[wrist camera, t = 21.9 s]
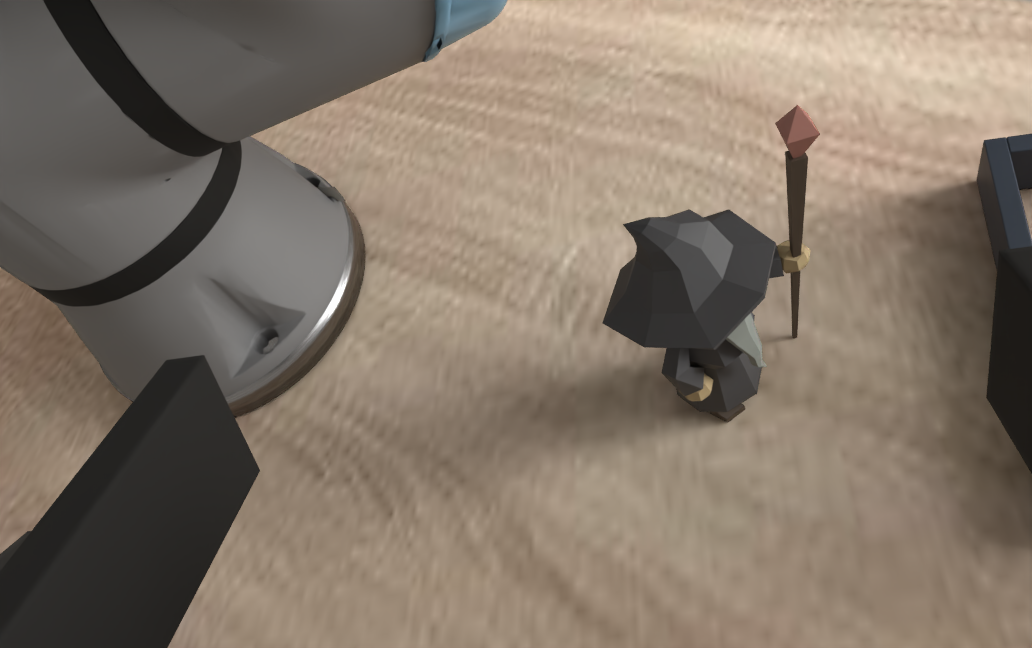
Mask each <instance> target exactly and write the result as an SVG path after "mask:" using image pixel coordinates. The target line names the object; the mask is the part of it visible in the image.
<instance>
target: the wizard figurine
mask: <svg viewBox="0 0 1032 648" xmlns="http://www.w3.org/2000/svg"><path fill="white" fill-rule="evenodd" d="M775 124H776V126H777V128H778V130H779V132H780V134H781V136H782V138H783V140H784V142H785V144H786V146H787V148H788V150H789V151H786V152H785V156H786V177H787V198H788V219H789V239H790V240H787V241H785V242H783V243H781V244H779V245H778V246H776V243H775V242H774V241H772V240H771V239H770V238H768V237H767V236H765V235H764V234H762V233H761V232H760V231H758V230H757V229H755V228H754V227H753V226H751V225H750V224H748V223H747V222H746V221H744V220H743V219H741V218H740V217H739V216H737V215H736V214H734V213H733V212H732V211H730V210H726V211H723V212H720V213H716V214H713V215H710V216H707V217H704V218H703V217H701V216H700V215H698V214H696V213H694V212H693V211H691V210H686V211H683V212H680V213H677V214H674V215H671V216H668V217H652V218H645V219H641V220H638V221H634V222H630V223H627V224H623V225H624V226H625V228H626V229H627V230H628V231H629V233H630V234H631V235H632V236H633V238H634V240H635V242H636V245H637V252H636V255H635V257H634V258H633V259H632V260H631V261H630V262H629V263H627V264H626V265H625V266H624V267H623V268H622V269H621V270H620V273H619V276H618V278H617V281H616V284H615V287H614V290H613V293H612V296H611V299H610V302H609V305H608V308H607V311H606V314H605V317H604V320H603V324H605V325H607V326H608V327H610V328H612V329H613V330H615V331H617V332H619V333H620V334H622V335H624V336H626V337H627V338H629V339H631V340H632V341H634V342H636V343H638V344H639V345H641V346H643V347H655V348H667V349H666V354H665V359H664V364H663V369H662V374H663V375H664V376H665V377H666V378H667V379H668V380H669V381H670V382H671V383H672V384H673V385H674V386H675V387H676V389H677V394H678V396H680V397H681V398H682V399H684V400H685V401H686V402H688V403H689V404H690V405H692V406H693V407H695V408H696V409H697V410H699V411H700V412H710V413H711V414H713V415H715V416H717V417H718V418H720V419H722V420H724V421H726V422H729V421H730V420H732V419H733V418H734V417H736V416H737V415H738V414H739V413H741V412H742V411H743V410H745V406H744V405H743V404H741V403H742V402H744V401H745V400H747V399H749V398H750V397H752V396H753V395H755V394H757V390H758V385H759V380H760V374H761V369H762V367H767V365H766V364H765V363H764V361H763V360H762V344H761V341H760V338H759V335H758V333H757V330H756V327H755V324H754V316H755V315H754V314H753V313H752V311H753V310H754V309H755V308H756V307H757V306H758V305H759V304H760V303H761V301H762V300H763V299H764V298H765V294H766V289H767V285H768V280H769V278H774V277H780V276H784V275H783V271H784V272H785V273H791V305H792V336H793V338H796V337H797V330H798V308H799V286H800V270H801V269H803V268H804V267H806V265H807V263H808V262H809V257H810V249H809V248H807V247H806V246H805V245H804V244H803V243H802V234H803V220H804V206H805V192H806V178H807V164H808V157H807V155H806V153H805V151H806V150H807V149H808V148H809V147H810V145H811V144H812V143H813V142H814V141H815V139H816V138H817V137H818V136H819V135H820V133H819V132H818V130H817V128H816V127H815V125H814V123H813V122H812V120H811V118H810V117H809V115H808V113H806V112H805V111H804V110H803V109H802V108H801V107H799V106H798V105H797V106H796V107H794V108H793V109H792V110H791V111H790V112H788V113H787V114H786V115H785V116H784V117H782V118H781V119H780V120H779V121H778V122H776V123H775Z"/></svg>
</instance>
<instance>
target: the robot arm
mask: <svg viewBox="0 0 1032 648" xmlns="http://www.w3.org/2000/svg"><path fill="white" fill-rule="evenodd" d="M506 2H507V0H0V267H1V268H2V269H4V270H5V271H7V272H8V273H10V274H11V275H13V276H14V277H16V278H17V279H19V280H21V281H22V282H24V283H26V284H27V285H29V286H30V287H32V288H33V289H35V290H36V291H38V292H39V293H41V294H42V295H43V296H45V297H46V298H47V299H49V300H50V301H52V302H53V303H55V304H56V305H57V306H58V308H59V309H60V310H61V312H62V313H63V315H64V316H65V317H66V319H67V320H68V322H69V323H70V324H71V326H72V327H73V329H74V330H75V331H76V333H77V334H78V336H79V337H80V338H81V340H82V341H83V342H84V344H85V345H86V346H87V348H88V349H89V350H90V352H91V353H92V354H93V356H94V357H95V358H96V359H97V361H98V362H99V364H100V366H101V368H102V370H103V372H104V374H105V375H106V377H107V378H108V379H109V381H110V382H111V384H112V385H113V386H114V387H115V388H116V389H117V390H118V391H119V392H120V393H121V394H122V395H124V396H125V397H126V398H128V399H130V400H131V401H133V403H132V404H131V405H130V407H129V408H128V409H127V410H126V412H125V413H124V414H123V415H122V417H121V418H120V419H119V421H118V422H117V423H116V424H115V426H114V427H113V428H112V429H111V431H110V432H109V433H108V435H107V436H106V437H105V438H104V440H103V441H102V442H101V443H100V445H99V446H98V447H97V448H96V450H95V451H94V452H93V454H92V455H91V456H90V457H89V459H88V460H87V461H86V462H85V464H84V465H83V466H82V468H81V469H80V470H79V471H78V473H77V474H76V475H75V476H74V478H73V479H72V480H71V482H70V483H69V484H68V485H67V487H66V488H65V489H64V490H63V492H62V493H61V494H60V496H59V497H58V498H57V499H56V501H55V502H54V503H53V504H52V506H51V507H50V508H49V510H48V511H47V512H46V513H45V515H44V516H43V517H42V518H41V520H40V521H39V522H38V524H37V525H36V526H35V527H34V529H33V530H32V531H28V532H26V533H25V534H24V535H23V536H22V537H20V538H19V539H18V540H17V541H16V542H14V543H13V544H12V545H11V546H9V547H8V548H7V549H6V550H5V551H3V552H2V553H1V554H0V648H167V647H168V645H169V643H170V642H171V640H172V638H173V636H174V634H175V632H176V630H177V628H178V626H179V624H180V622H181V621H182V619H183V617H184V615H185V613H186V611H187V609H188V607H189V605H190V603H191V601H192V599H193V598H194V596H195V594H196V592H197V590H198V588H199V586H200V584H201V582H202V580H203V578H204V577H205V575H206V573H207V571H208V569H209V567H210V565H211V563H212V561H213V559H214V557H215V556H216V554H217V552H218V550H219V548H220V546H221V544H222V542H223V540H224V538H225V536H226V535H227V533H228V531H229V529H230V527H231V525H232V523H233V521H234V519H235V517H236V515H237V514H238V512H239V510H240V508H241V506H242V504H243V502H244V500H245V498H246V496H247V494H248V493H249V491H250V489H251V487H252V485H253V483H254V481H255V479H256V477H257V475H258V473H259V472H260V470H259V467H258V465H257V463H256V461H255V459H254V457H253V455H252V453H251V451H250V449H249V447H248V445H247V443H246V440H245V438H244V436H243V434H242V432H241V430H240V428H239V426H238V424H237V422H236V420H235V418H234V417H236V416H239V415H242V414H244V413H247V412H249V411H252V410H254V409H256V408H258V407H260V406H262V405H264V404H266V403H267V402H269V401H271V400H272V399H274V398H276V397H277V396H279V395H280V394H282V393H283V392H284V391H286V390H287V389H289V388H290V387H291V386H293V385H294V384H295V383H296V382H297V381H299V380H300V379H301V378H302V377H303V376H304V375H305V374H306V373H307V372H309V371H310V370H311V369H312V368H313V367H314V366H315V365H316V363H317V362H318V361H319V360H320V359H321V358H322V357H323V356H324V355H325V353H326V352H327V351H328V350H329V348H330V347H331V346H332V344H333V343H334V342H335V340H336V339H337V337H338V336H339V334H340V333H341V331H342V330H343V328H344V326H345V324H346V322H347V321H348V319H349V317H350V315H351V313H352V311H353V308H354V306H355V304H356V301H357V298H358V295H359V293H360V289H361V285H362V281H363V276H364V270H365V244H364V238H363V234H362V231H361V227H360V225H359V223H358V221H357V219H356V217H355V215H354V214H353V212H352V211H351V209H350V208H349V207H348V205H347V204H346V203H345V202H344V201H345V200H344V198H343V197H342V196H341V194H340V193H339V192H338V191H337V189H336V188H335V187H332V186H331V185H330V184H329V183H328V182H327V181H326V180H324V179H323V178H322V177H320V176H319V175H317V174H315V173H314V172H312V171H310V170H308V169H307V168H305V167H303V166H301V165H299V164H296V163H293V162H292V161H291V160H289V159H288V158H286V157H285V156H283V155H282V154H280V153H279V152H277V151H275V150H273V149H272V148H270V147H268V146H266V145H265V144H263V143H261V142H259V141H257V140H256V139H254V138H252V137H250V136H251V135H253V134H256V133H258V132H260V131H262V130H265V129H267V128H269V127H272V126H274V125H276V124H279V123H281V122H283V121H286V120H288V119H290V118H293V117H295V116H297V115H299V114H302V113H304V112H306V111H309V110H311V109H313V108H316V107H318V106H320V105H323V104H325V103H327V102H330V101H332V100H334V99H336V98H339V97H341V96H343V95H346V94H348V93H350V92H353V91H355V90H357V89H360V88H362V87H364V86H367V85H369V84H371V83H373V82H376V81H378V80H380V79H383V78H385V77H387V76H390V75H392V74H394V73H397V72H399V71H401V70H404V69H406V68H408V67H410V66H413V65H415V64H417V63H420V62H423V61H424V62H426V61H429V60H431V59H433V58H434V57H435V56H437V54H438V53H439V52H440V50H441V49H443V48H445V47H446V46H448V45H450V44H452V43H454V42H456V41H458V40H459V39H461V38H463V37H465V36H467V35H469V34H471V33H472V32H474V31H476V30H478V29H480V28H482V27H484V26H486V25H487V24H489V23H490V22H491V21H493V20H494V19H495V18H496V17H497V16H498V15H499V14H500V12H501V11H502V10H503V8H504V6H505V5H506ZM986 398H987V399H988V401H989V403H990V404H991V406H992V408H993V409H994V411H995V413H996V414H997V416H998V418H999V419H1000V421H1001V423H1002V425H1003V426H1004V428H1005V430H1006V431H1007V433H1008V435H1009V436H1010V438H1011V440H1012V441H1013V443H1014V445H1015V446H1016V448H1017V450H1018V451H1019V453H1020V455H1021V456H1022V458H1023V460H1024V461H1025V463H1026V465H1027V466H1028V468H1029V470H1030V471H1031V473H1032V246H1029V247H1021V248H1013V249H1006V250H999V255H998V267H997V279H996V291H995V303H994V314H993V326H992V338H991V350H990V362H989V374H988V385H987V397H986Z"/></svg>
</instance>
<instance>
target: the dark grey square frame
mask: <svg viewBox="0 0 1032 648" xmlns="http://www.w3.org/2000/svg"><path fill="white" fill-rule="evenodd" d="M977 183H978V187H979V192H980V197H981V201H982V206H983V210H984V215H985V219H986V224H987V228H988V233H989V237H990V242H991V246H992V251H993V256H994V260H995V265H996V269H997V267H998V255H999V250H1006V249H1013V248H1021V247H1029V246H1032V239H1031V235H1030V231H1029V227H1028V223H1027V219H1026V215H1025V211H1024V207H1023V203H1022V199H1021V195H1020V191H1019V189H1026V188H1032V134H1026V135H1019V136H1011V137H1007V139H1006V138H1005V137H1004V138H997V139H990V140H984V143H983V148H982V154H981V159H980V165H979V170H978V176H977Z"/></svg>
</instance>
